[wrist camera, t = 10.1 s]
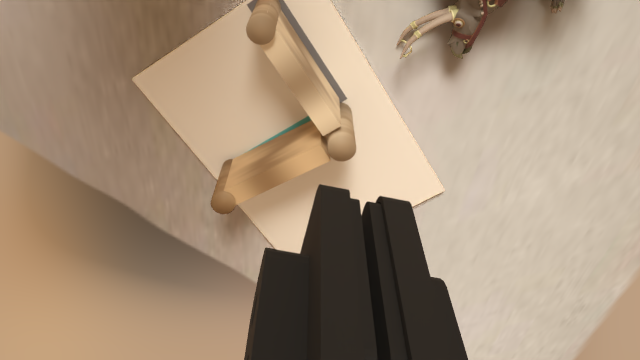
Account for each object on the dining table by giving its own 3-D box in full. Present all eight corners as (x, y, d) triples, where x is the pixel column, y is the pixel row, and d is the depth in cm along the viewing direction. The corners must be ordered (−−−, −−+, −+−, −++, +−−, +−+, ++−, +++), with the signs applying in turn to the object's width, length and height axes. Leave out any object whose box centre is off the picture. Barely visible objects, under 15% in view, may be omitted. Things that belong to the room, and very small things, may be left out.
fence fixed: (249, 4, 39) (238, 26, 33) (272, -12, 38) (265, 9, 33) (335, 129, 44) (337, 166, 39) (356, 117, 43) (361, 152, 38)
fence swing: (319, 114, 43) (319, 145, 38) (330, 132, 43) (331, 165, 39) (217, 164, 45) (206, 200, 40) (229, 180, 46) (219, 217, 41)
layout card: (132, 77, 42) (131, 79, 41) (306, -41, 37) (306, -40, 37) (291, 264, 51) (291, 267, 51) (444, 188, 47) (445, 190, 47)
